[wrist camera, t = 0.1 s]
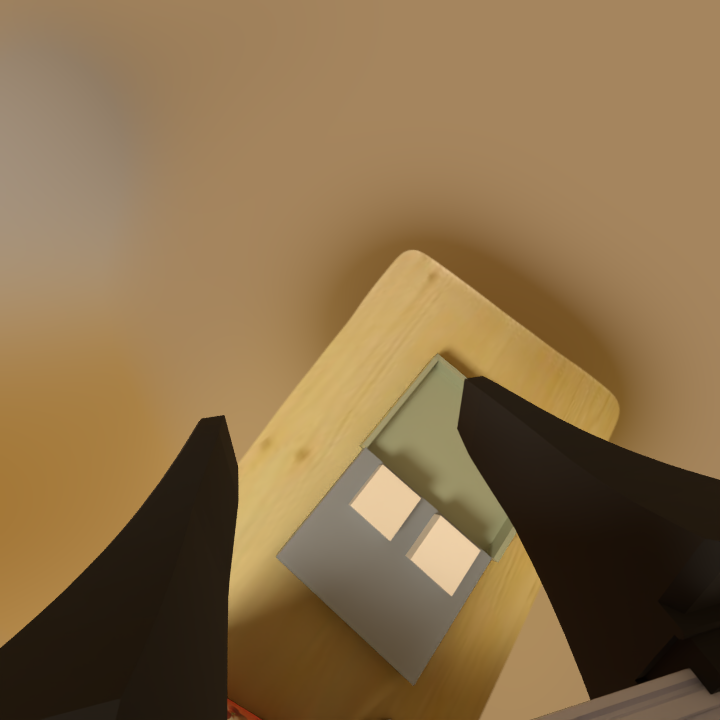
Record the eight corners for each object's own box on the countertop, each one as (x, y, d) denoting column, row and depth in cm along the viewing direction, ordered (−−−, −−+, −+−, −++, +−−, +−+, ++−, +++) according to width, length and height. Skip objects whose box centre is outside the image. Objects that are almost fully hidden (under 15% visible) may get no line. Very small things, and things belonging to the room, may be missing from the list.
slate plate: (407, 675, 37) (413, 686, 35) (277, 553, 39) (275, 557, 37) (483, 554, 42) (492, 558, 40) (362, 448, 43) (365, 447, 41)
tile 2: (444, 590, 38) (451, 596, 36) (405, 555, 39) (410, 559, 37) (472, 547, 40) (480, 550, 38) (434, 513, 40) (440, 515, 38)
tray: (486, 557, 41) (498, 562, 39) (359, 445, 43) (362, 443, 41) (548, 458, 46) (561, 457, 43) (430, 359, 47) (437, 353, 45)
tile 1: (386, 538, 39) (390, 541, 37) (348, 504, 39) (350, 505, 37) (415, 497, 40) (421, 498, 38) (379, 465, 41) (382, 464, 39)
